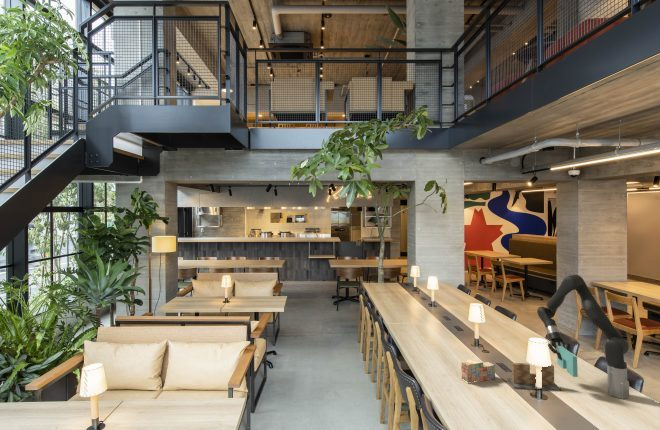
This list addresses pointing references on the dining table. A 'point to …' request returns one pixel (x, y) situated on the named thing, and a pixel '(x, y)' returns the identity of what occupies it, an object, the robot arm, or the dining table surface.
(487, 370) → the stack of blocks
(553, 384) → the halving stand
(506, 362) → the dining table surface
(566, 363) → the teal plate
